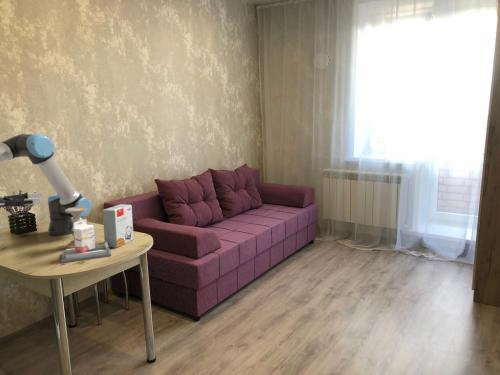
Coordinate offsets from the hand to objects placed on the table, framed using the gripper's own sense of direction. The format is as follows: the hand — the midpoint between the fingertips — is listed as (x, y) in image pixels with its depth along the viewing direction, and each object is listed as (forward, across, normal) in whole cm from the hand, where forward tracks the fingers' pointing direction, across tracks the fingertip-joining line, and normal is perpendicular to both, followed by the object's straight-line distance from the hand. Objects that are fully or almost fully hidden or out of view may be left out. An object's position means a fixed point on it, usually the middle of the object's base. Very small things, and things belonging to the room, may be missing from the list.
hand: (42, 198), depth 188 cm
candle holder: (+14, -15, -30) cm, 36 cm away
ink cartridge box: (+17, +2, -28) cm, 32 cm away
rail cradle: (+17, +2, -30) cm, 34 cm away
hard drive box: (+34, -10, -30) cm, 46 cm away
